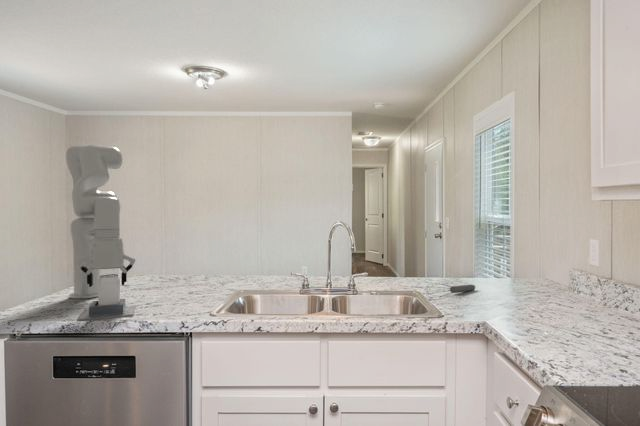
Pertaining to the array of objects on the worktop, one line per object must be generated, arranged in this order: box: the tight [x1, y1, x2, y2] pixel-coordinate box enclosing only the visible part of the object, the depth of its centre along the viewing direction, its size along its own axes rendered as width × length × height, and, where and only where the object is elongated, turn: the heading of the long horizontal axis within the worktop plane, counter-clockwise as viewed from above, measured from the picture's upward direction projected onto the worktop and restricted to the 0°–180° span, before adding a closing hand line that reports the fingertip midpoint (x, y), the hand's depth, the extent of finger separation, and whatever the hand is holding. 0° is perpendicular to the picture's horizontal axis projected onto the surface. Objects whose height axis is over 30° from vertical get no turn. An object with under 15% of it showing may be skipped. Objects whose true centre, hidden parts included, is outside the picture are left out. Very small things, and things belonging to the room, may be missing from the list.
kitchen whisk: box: [423, 282, 476, 301], centre depth 169 cm, size 6×34×6 cm, turn 130°
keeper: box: [76, 298, 136, 322], centre depth 142 cm, size 14×16×4 cm
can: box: [97, 273, 121, 306], centre depth 142 cm, size 6×6×12 cm
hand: (107, 285), depth 142 cm, fingers open, 9 cm apart
